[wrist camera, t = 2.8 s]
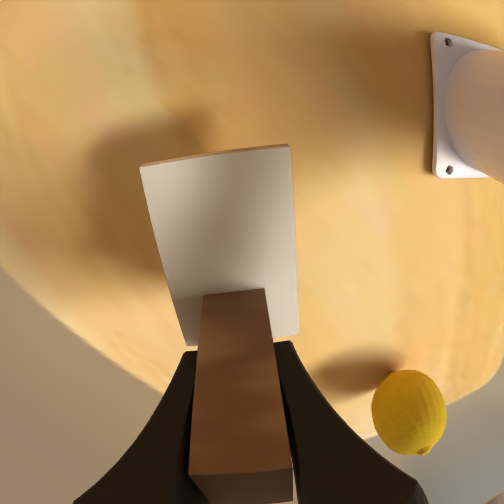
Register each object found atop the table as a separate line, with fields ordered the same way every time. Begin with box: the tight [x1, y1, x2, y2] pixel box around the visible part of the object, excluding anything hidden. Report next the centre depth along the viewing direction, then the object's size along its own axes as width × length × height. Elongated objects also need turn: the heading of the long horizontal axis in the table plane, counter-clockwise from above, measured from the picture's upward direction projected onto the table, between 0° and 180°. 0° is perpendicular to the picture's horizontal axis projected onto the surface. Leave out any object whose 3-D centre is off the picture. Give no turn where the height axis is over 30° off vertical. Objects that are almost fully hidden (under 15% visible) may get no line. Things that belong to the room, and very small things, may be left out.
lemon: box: [371, 370, 446, 456], centre depth 19 cm, size 6×6×8 cm
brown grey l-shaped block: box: [139, 144, 299, 504], centre depth 9 cm, size 5×8×8 cm, turn 6°
